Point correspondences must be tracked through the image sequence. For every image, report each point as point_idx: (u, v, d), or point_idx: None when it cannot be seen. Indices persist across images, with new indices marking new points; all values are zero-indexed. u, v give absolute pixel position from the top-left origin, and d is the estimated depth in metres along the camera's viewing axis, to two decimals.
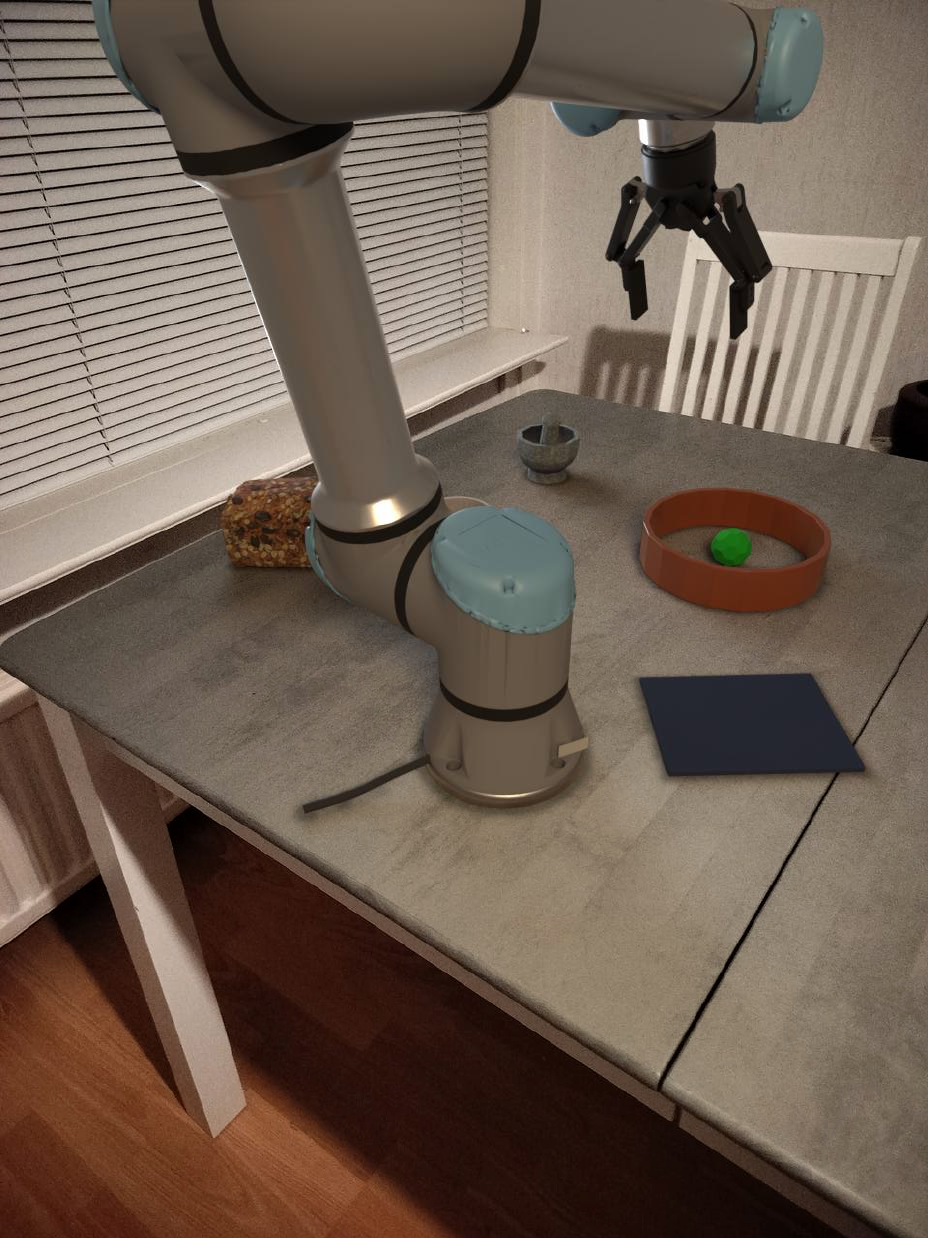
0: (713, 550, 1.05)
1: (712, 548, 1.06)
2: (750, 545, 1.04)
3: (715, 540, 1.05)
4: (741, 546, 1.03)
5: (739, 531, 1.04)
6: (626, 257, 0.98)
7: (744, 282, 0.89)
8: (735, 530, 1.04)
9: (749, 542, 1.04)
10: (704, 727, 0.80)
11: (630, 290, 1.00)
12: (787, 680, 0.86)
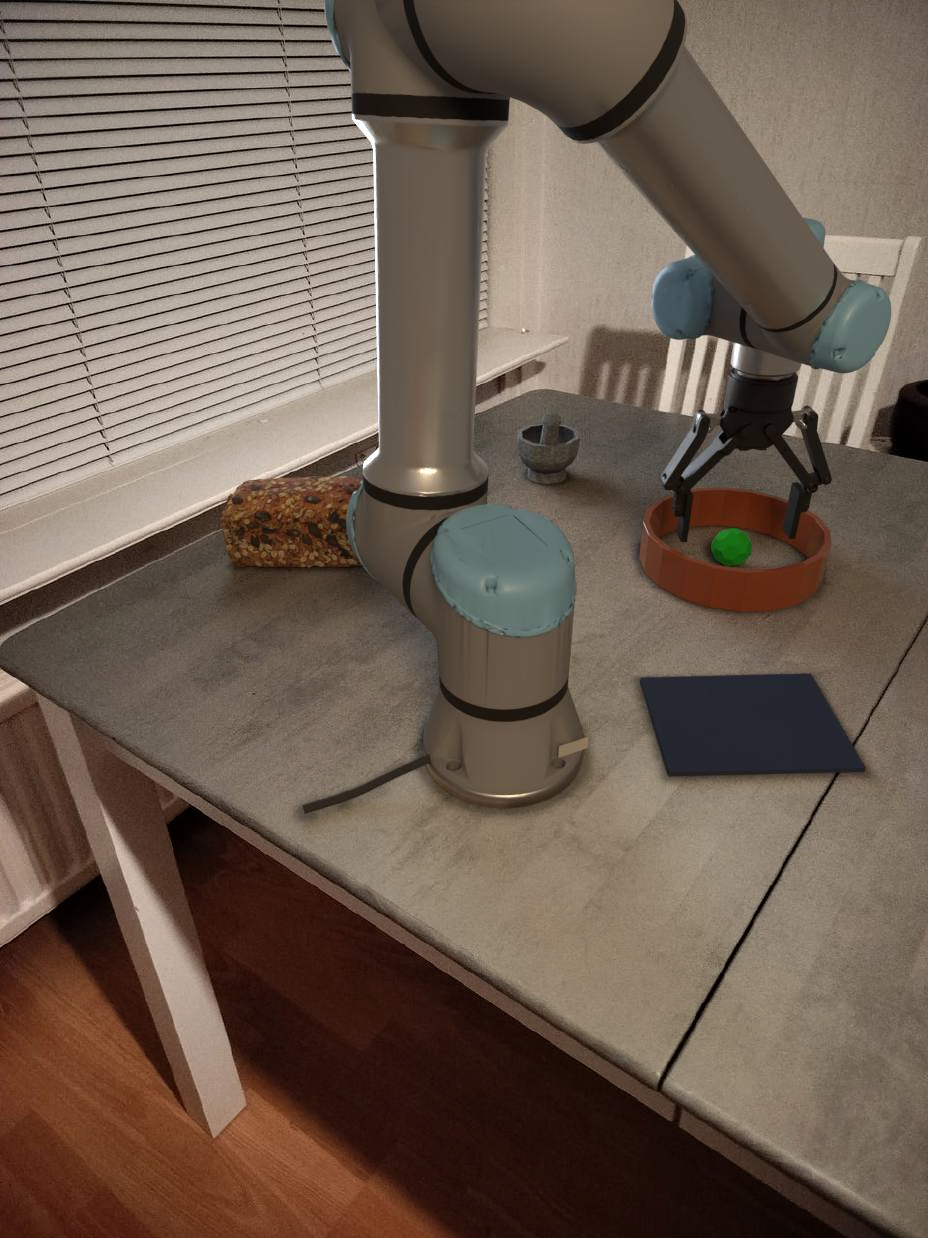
0: (713, 550, 1.05)
1: (712, 548, 1.06)
2: (750, 545, 1.04)
3: (715, 540, 1.05)
4: (741, 546, 1.03)
5: (739, 531, 1.04)
6: (689, 483, 0.99)
7: None
8: (735, 530, 1.04)
9: (749, 542, 1.04)
10: (704, 727, 0.80)
11: (687, 514, 1.02)
12: (787, 680, 0.86)
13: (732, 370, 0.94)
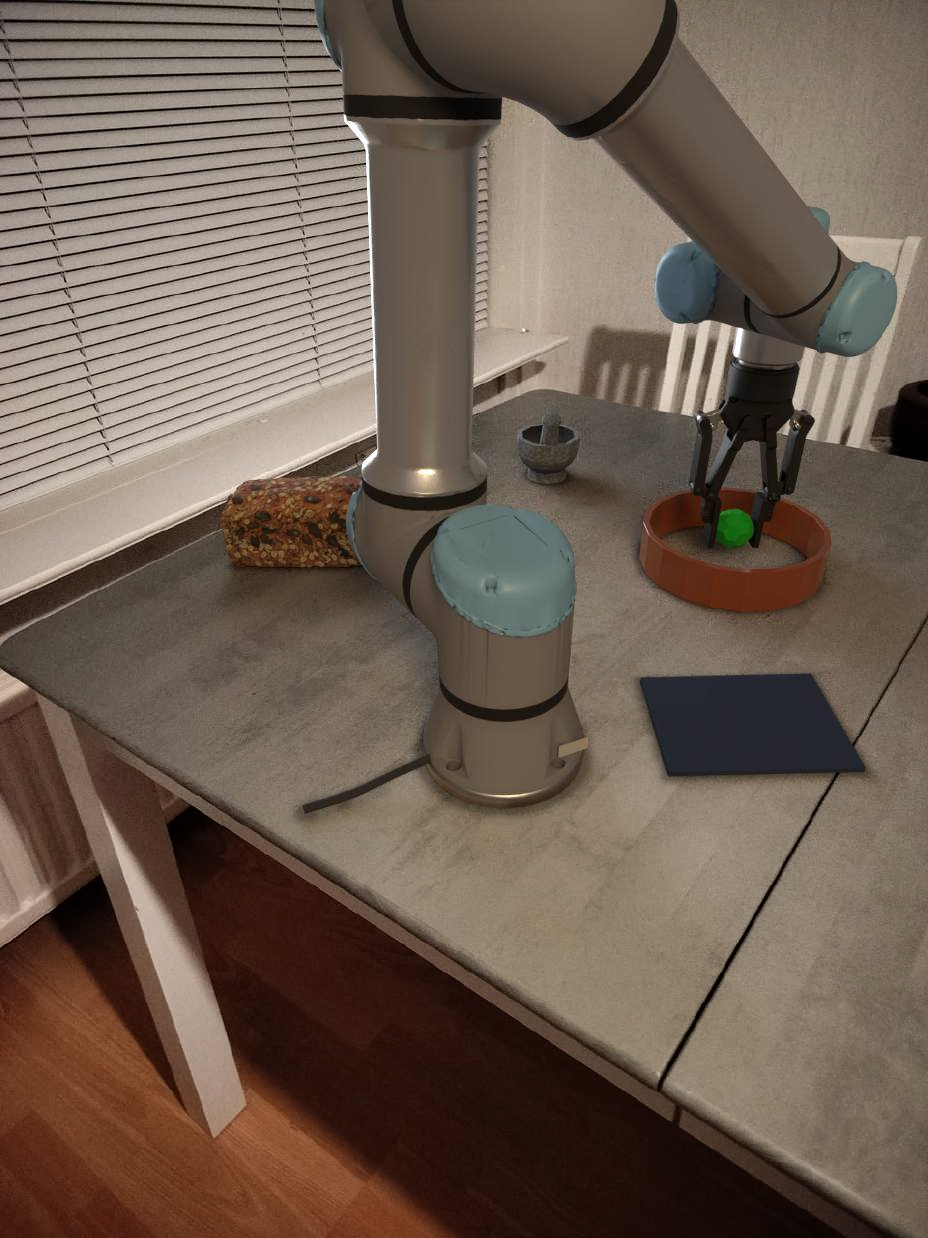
0: None
1: None
2: (752, 525, 1.03)
3: None
4: (743, 527, 1.02)
5: (741, 512, 1.02)
6: (715, 488, 0.99)
7: (778, 497, 1.00)
8: (737, 511, 1.03)
9: (751, 523, 1.02)
10: (704, 727, 0.80)
11: (715, 520, 1.02)
12: (787, 680, 0.86)
13: (733, 360, 0.93)
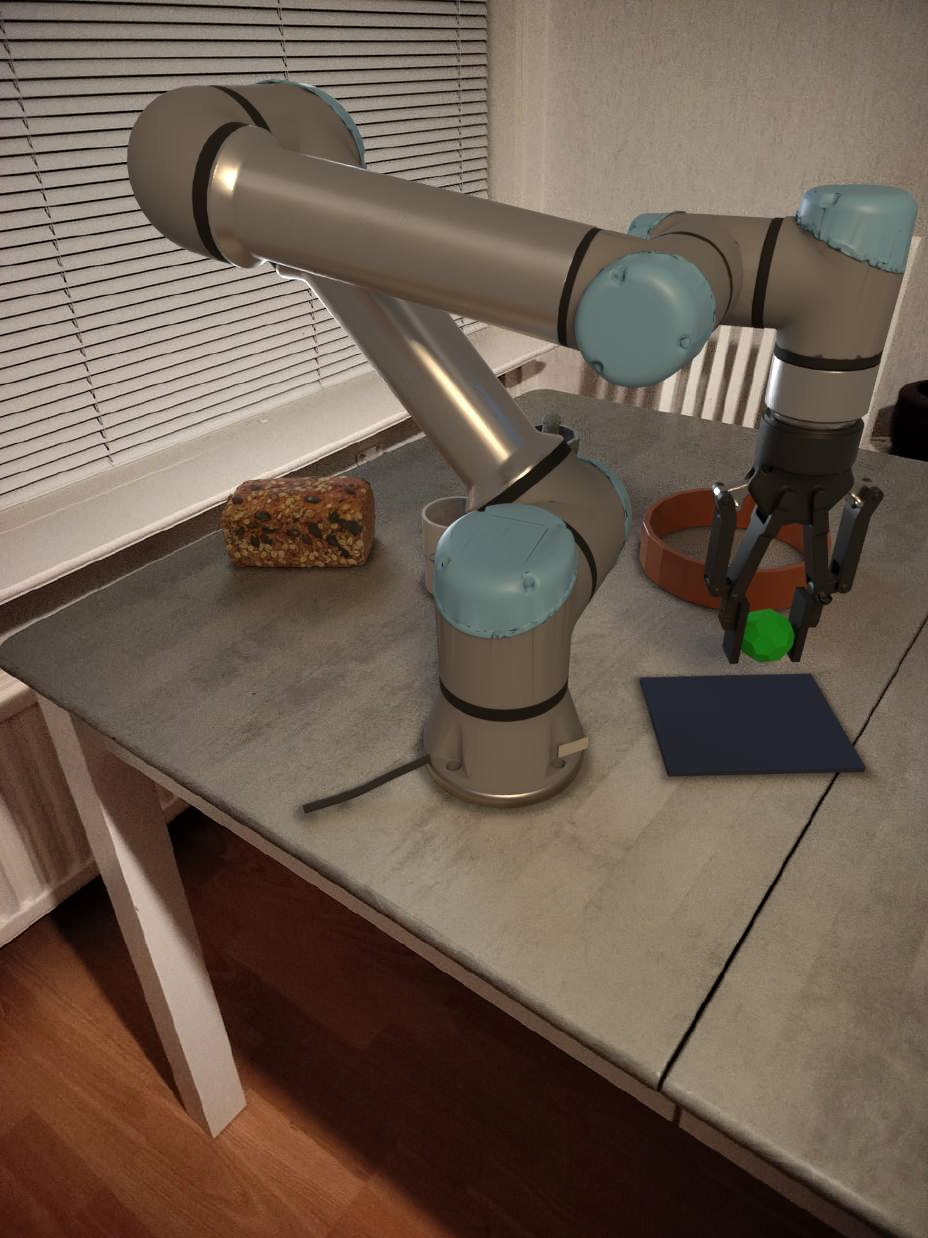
0: None
1: None
2: (792, 633, 0.74)
3: None
4: (779, 637, 0.73)
5: (776, 614, 0.74)
6: (741, 586, 0.71)
7: (829, 598, 0.71)
8: (771, 613, 0.74)
9: (791, 630, 0.74)
10: (704, 727, 0.80)
11: (740, 628, 0.73)
12: (787, 680, 0.86)
13: (767, 412, 0.65)
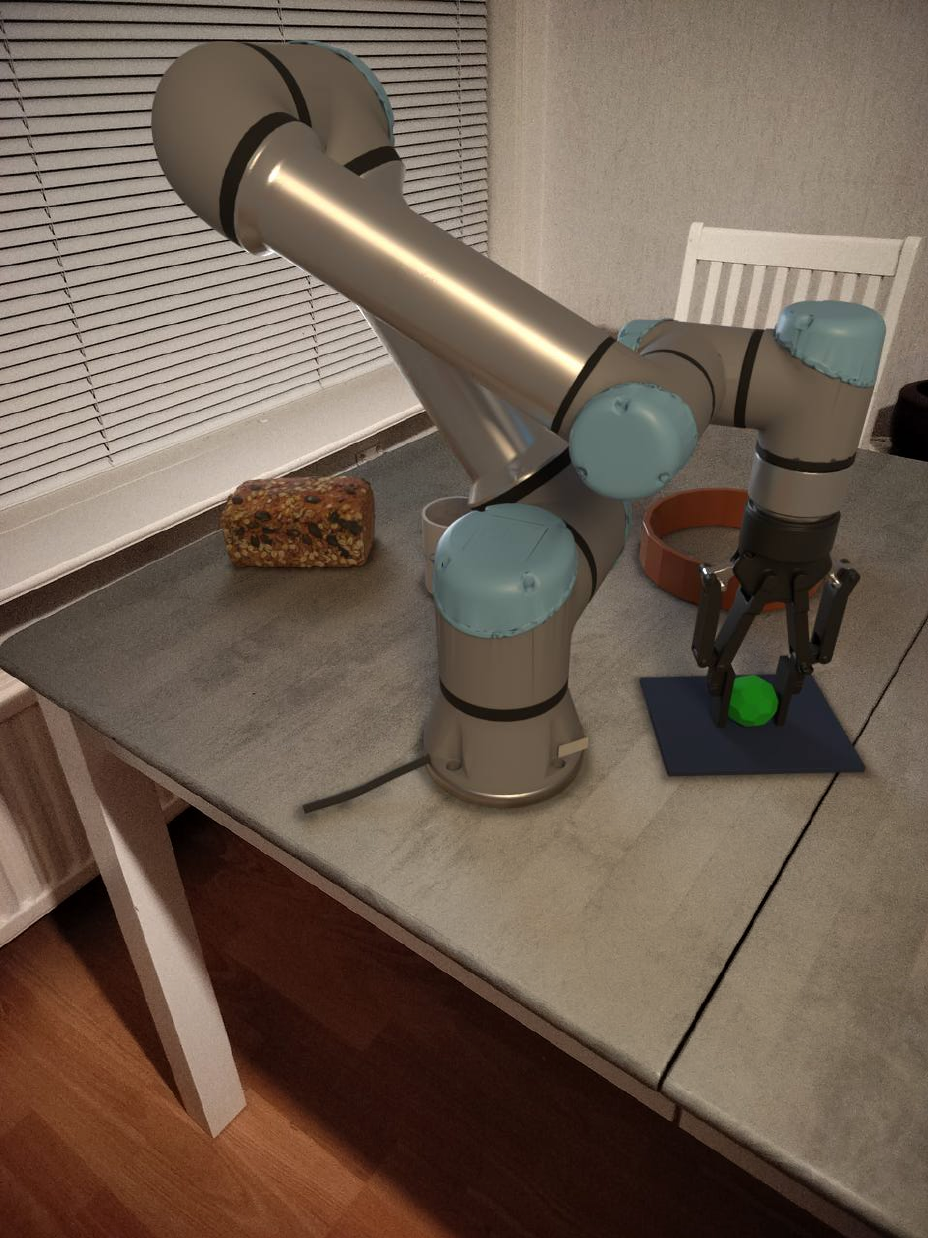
0: None
1: None
2: (776, 700, 0.78)
3: None
4: (764, 704, 0.77)
5: (761, 682, 0.78)
6: (727, 658, 0.75)
7: None
8: (756, 680, 0.78)
9: (774, 697, 0.78)
10: (704, 727, 0.80)
11: (727, 695, 0.78)
12: None
13: (750, 501, 0.69)
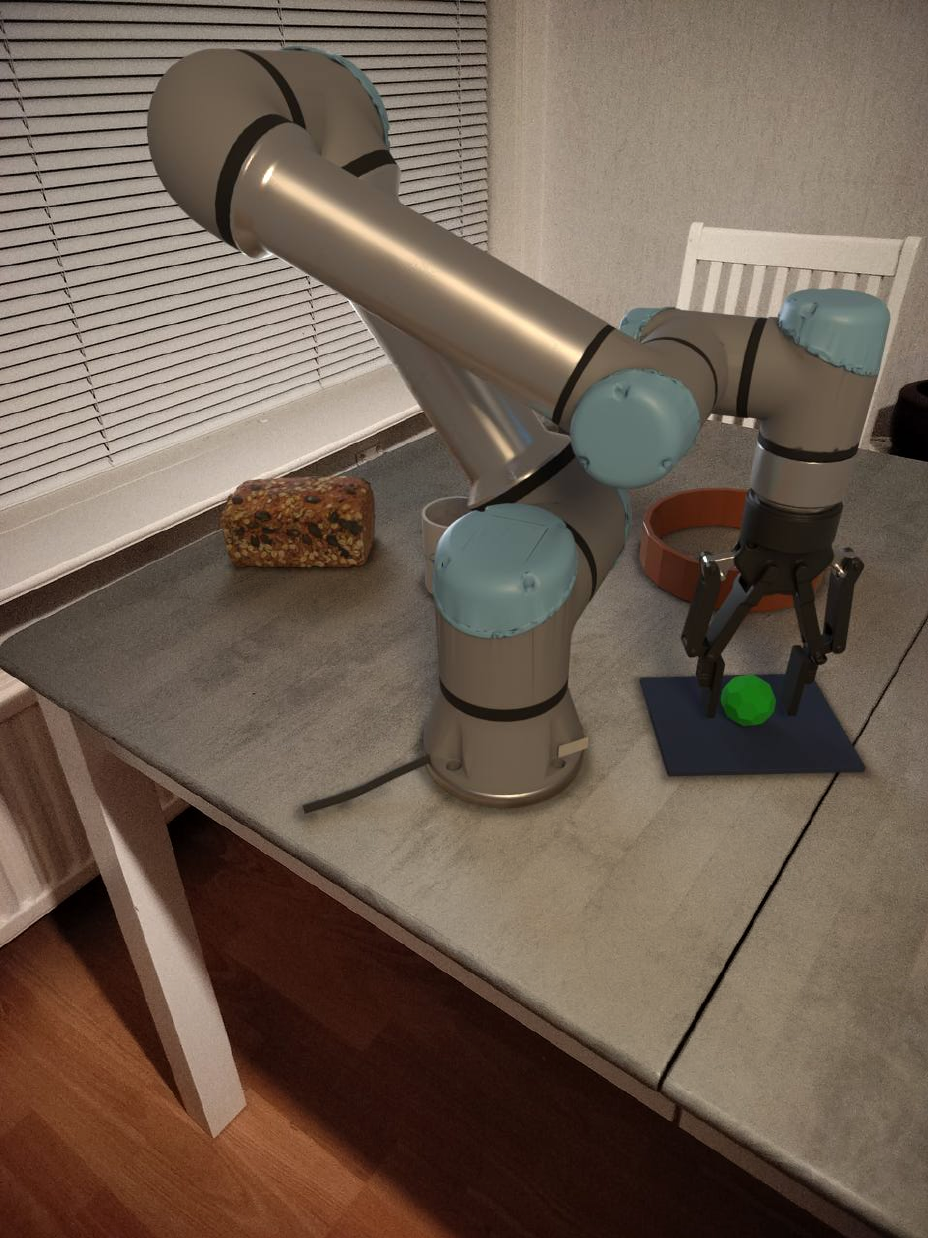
0: (724, 704, 0.79)
1: (723, 701, 0.80)
2: (774, 699, 0.78)
3: (727, 692, 0.79)
4: (761, 703, 0.77)
5: (759, 681, 0.78)
6: (717, 648, 0.75)
7: (824, 657, 0.75)
8: (753, 680, 0.78)
9: (772, 696, 0.78)
10: (704, 727, 0.80)
11: (716, 685, 0.77)
12: None
13: (751, 492, 0.68)
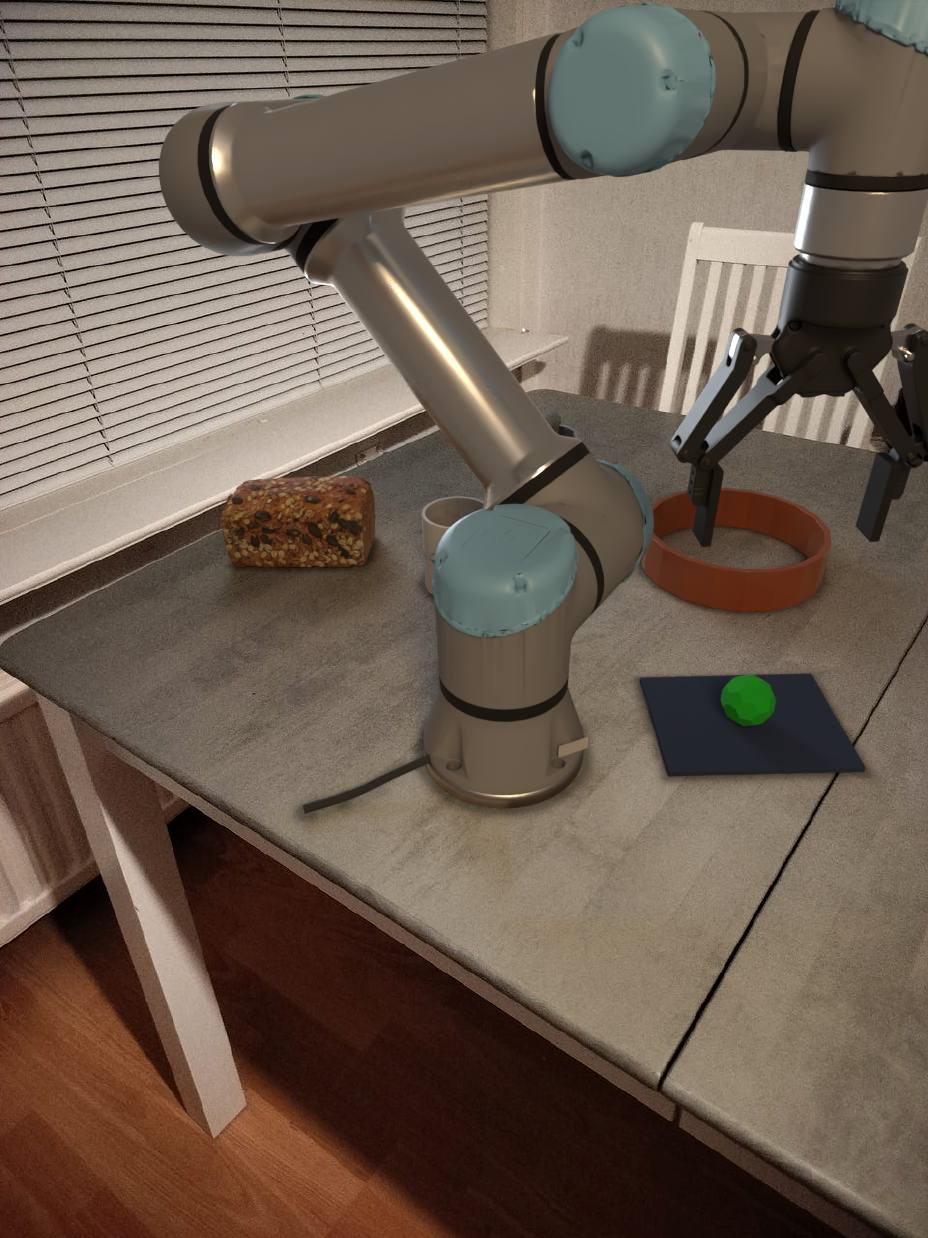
0: (724, 704, 0.79)
1: (722, 701, 0.80)
2: (774, 699, 0.78)
3: (727, 692, 0.79)
4: (761, 703, 0.77)
5: (759, 681, 0.78)
6: (719, 451, 0.61)
7: (920, 457, 0.62)
8: (753, 680, 0.78)
9: (772, 696, 0.78)
10: (704, 727, 0.80)
11: (713, 502, 0.64)
12: (787, 680, 0.86)
13: (795, 259, 0.56)
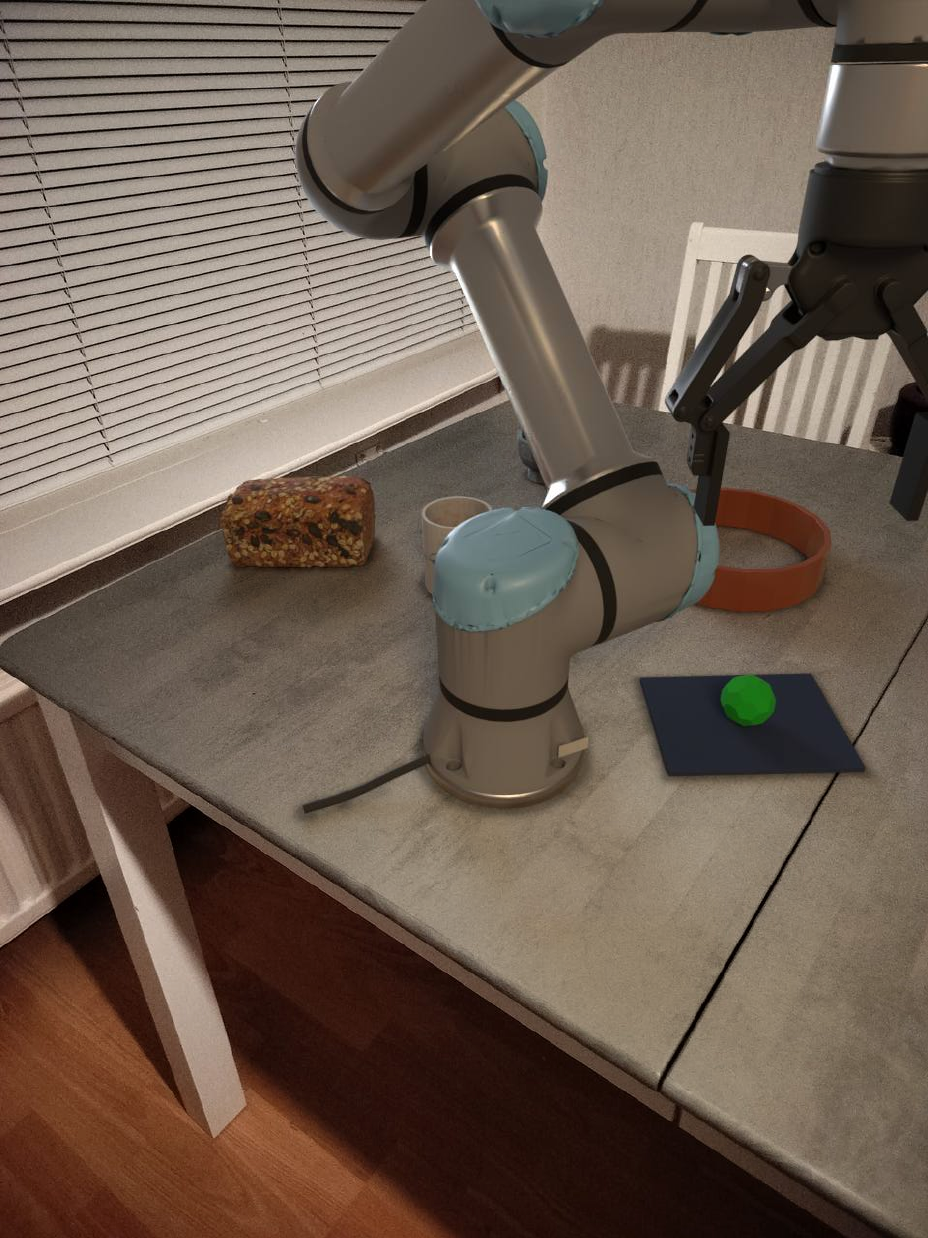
0: (724, 704, 0.79)
1: (722, 701, 0.80)
2: (774, 699, 0.78)
3: (727, 692, 0.79)
4: (761, 703, 0.77)
5: (759, 681, 0.78)
6: (723, 408, 0.51)
7: None
8: (753, 680, 0.78)
9: (772, 696, 0.78)
10: (704, 727, 0.80)
11: (717, 470, 0.53)
12: (787, 680, 0.86)
13: (818, 165, 0.45)
